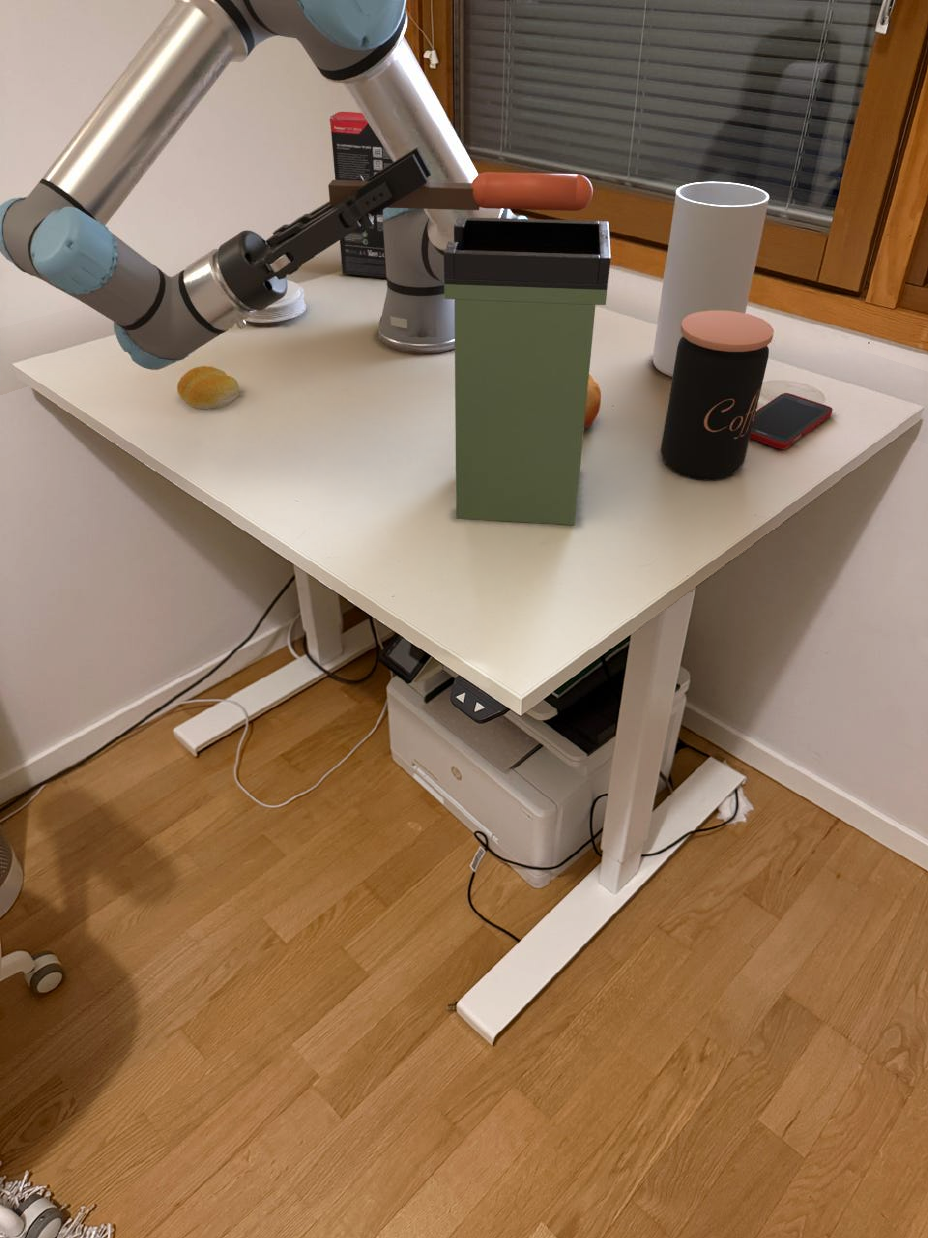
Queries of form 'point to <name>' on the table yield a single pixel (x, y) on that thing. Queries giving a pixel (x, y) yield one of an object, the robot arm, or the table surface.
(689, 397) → the coffee jar
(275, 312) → the lid
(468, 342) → the shelf stand
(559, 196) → the brown orange rod
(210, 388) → the bread roll
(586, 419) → the fruit
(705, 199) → the cylinder vase
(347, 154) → the graphics card box
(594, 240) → the black rectangular open tray
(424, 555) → the table surface
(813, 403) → the cell phone
